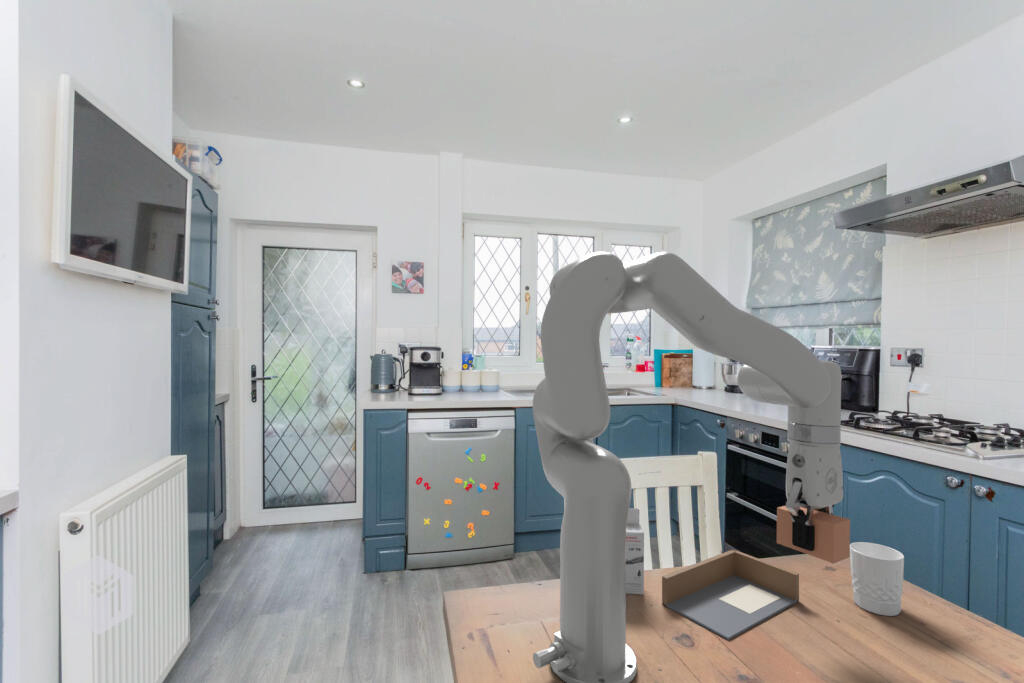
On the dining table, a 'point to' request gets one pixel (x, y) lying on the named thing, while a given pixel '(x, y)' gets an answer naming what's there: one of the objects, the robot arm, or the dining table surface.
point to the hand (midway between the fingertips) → (812, 543)
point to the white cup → (877, 577)
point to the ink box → (634, 554)
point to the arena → (730, 592)
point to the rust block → (818, 534)
